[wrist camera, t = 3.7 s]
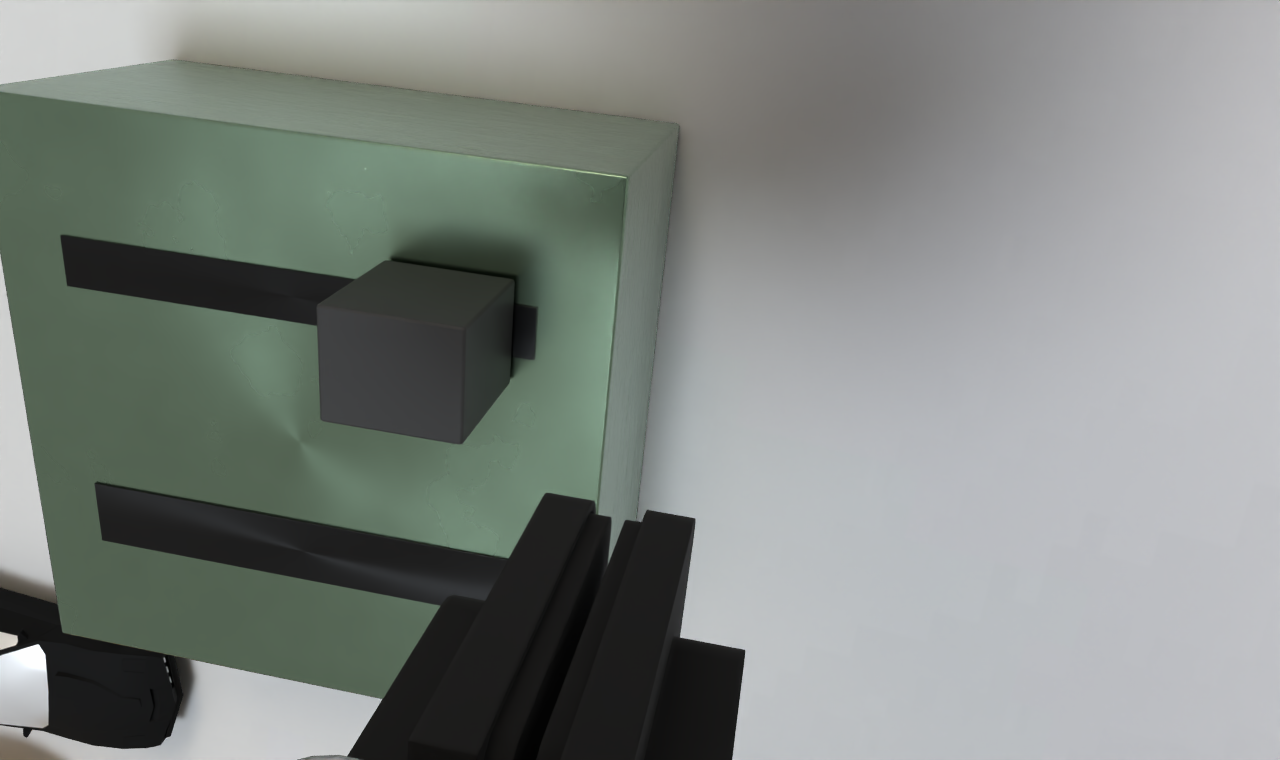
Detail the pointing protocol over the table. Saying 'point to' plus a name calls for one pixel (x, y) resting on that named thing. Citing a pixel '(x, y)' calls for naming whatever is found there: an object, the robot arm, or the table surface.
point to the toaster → (309, 348)
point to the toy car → (81, 681)
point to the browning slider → (415, 350)
